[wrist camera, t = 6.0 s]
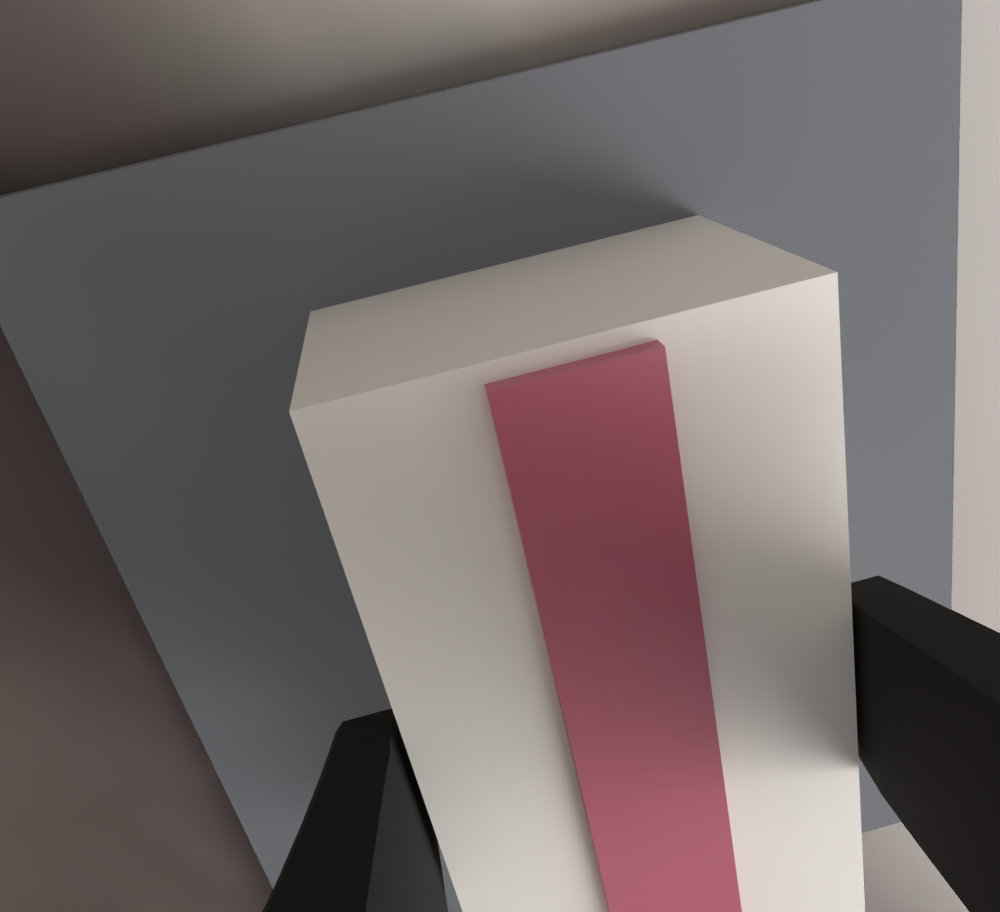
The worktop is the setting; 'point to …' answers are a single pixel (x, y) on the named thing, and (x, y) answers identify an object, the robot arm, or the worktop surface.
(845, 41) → the mat
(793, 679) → the card deck
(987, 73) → the worktop surface
